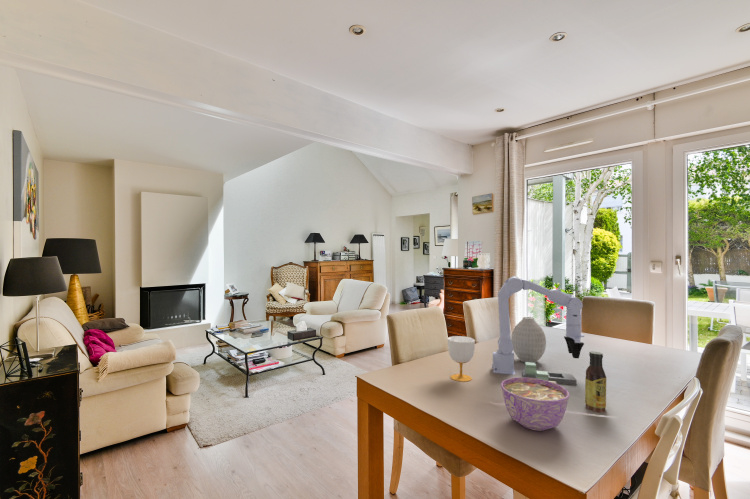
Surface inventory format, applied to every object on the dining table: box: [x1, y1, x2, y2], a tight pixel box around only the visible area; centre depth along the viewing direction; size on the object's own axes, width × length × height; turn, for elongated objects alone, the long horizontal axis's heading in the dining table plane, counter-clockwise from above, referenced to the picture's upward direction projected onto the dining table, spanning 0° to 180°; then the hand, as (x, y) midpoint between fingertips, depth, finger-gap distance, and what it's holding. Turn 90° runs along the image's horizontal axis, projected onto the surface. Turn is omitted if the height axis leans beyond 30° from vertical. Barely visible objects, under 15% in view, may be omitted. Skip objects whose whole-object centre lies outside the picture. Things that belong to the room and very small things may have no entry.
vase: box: [510, 316, 547, 364], centre depth 179 cm, size 16×16×22 cm
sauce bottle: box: [584, 350, 607, 413], centre depth 124 cm, size 7×6×20 cm
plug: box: [536, 370, 549, 381], centre depth 142 cm, size 4×4×6 cm
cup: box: [447, 335, 476, 383], centre depth 155 cm, size 12×12×17 cm
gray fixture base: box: [521, 362, 578, 386], centre depth 152 cm, size 20×8×6 cm, turn 73°
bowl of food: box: [500, 376, 570, 432], centre depth 113 cm, size 20×20×12 cm
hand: (573, 355), depth 154 cm, fingers open, 7 cm apart
